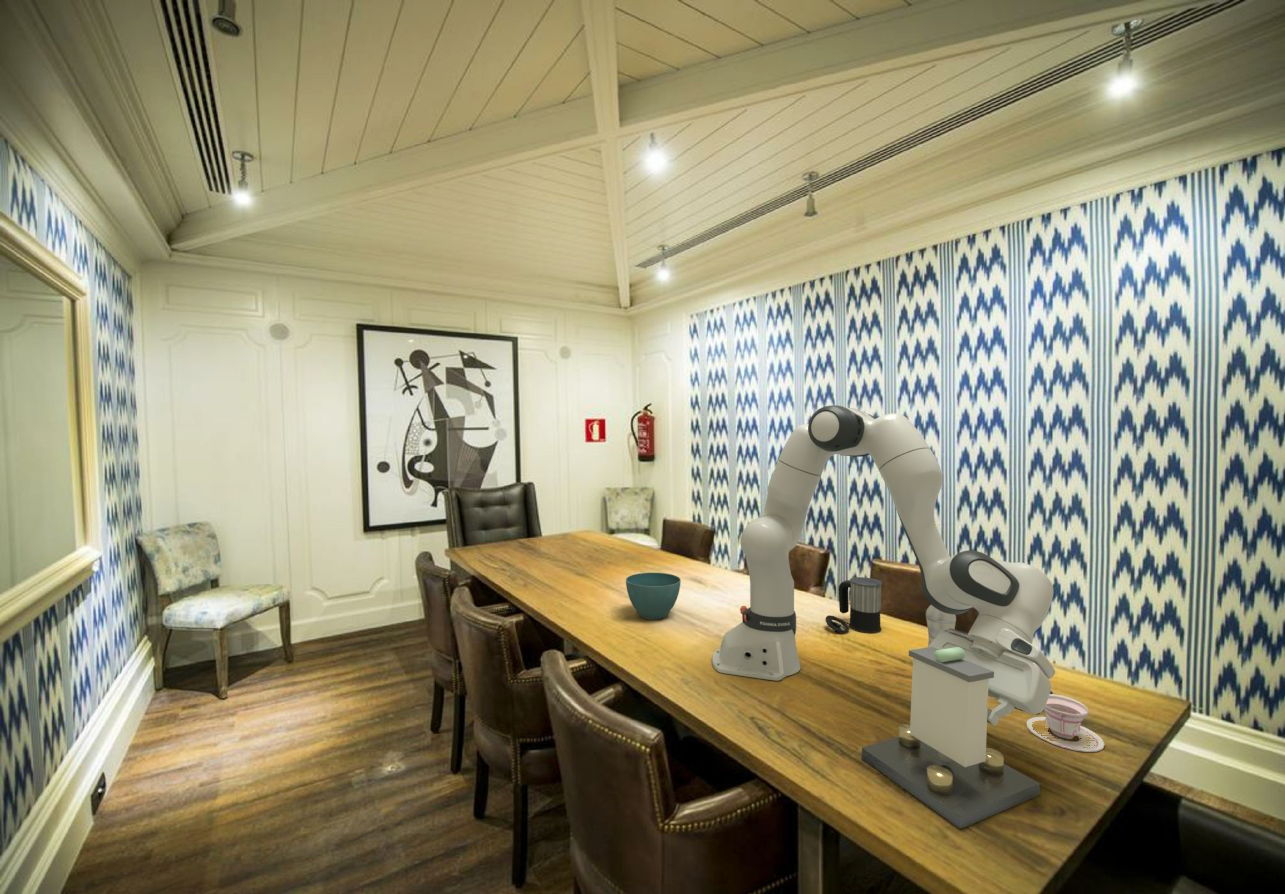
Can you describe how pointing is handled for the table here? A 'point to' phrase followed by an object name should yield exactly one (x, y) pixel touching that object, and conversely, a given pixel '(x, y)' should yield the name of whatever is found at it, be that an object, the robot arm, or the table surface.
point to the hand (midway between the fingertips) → (961, 708)
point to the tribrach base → (965, 782)
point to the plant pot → (653, 593)
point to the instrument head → (950, 704)
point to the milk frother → (859, 605)
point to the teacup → (1067, 724)
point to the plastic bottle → (938, 622)
